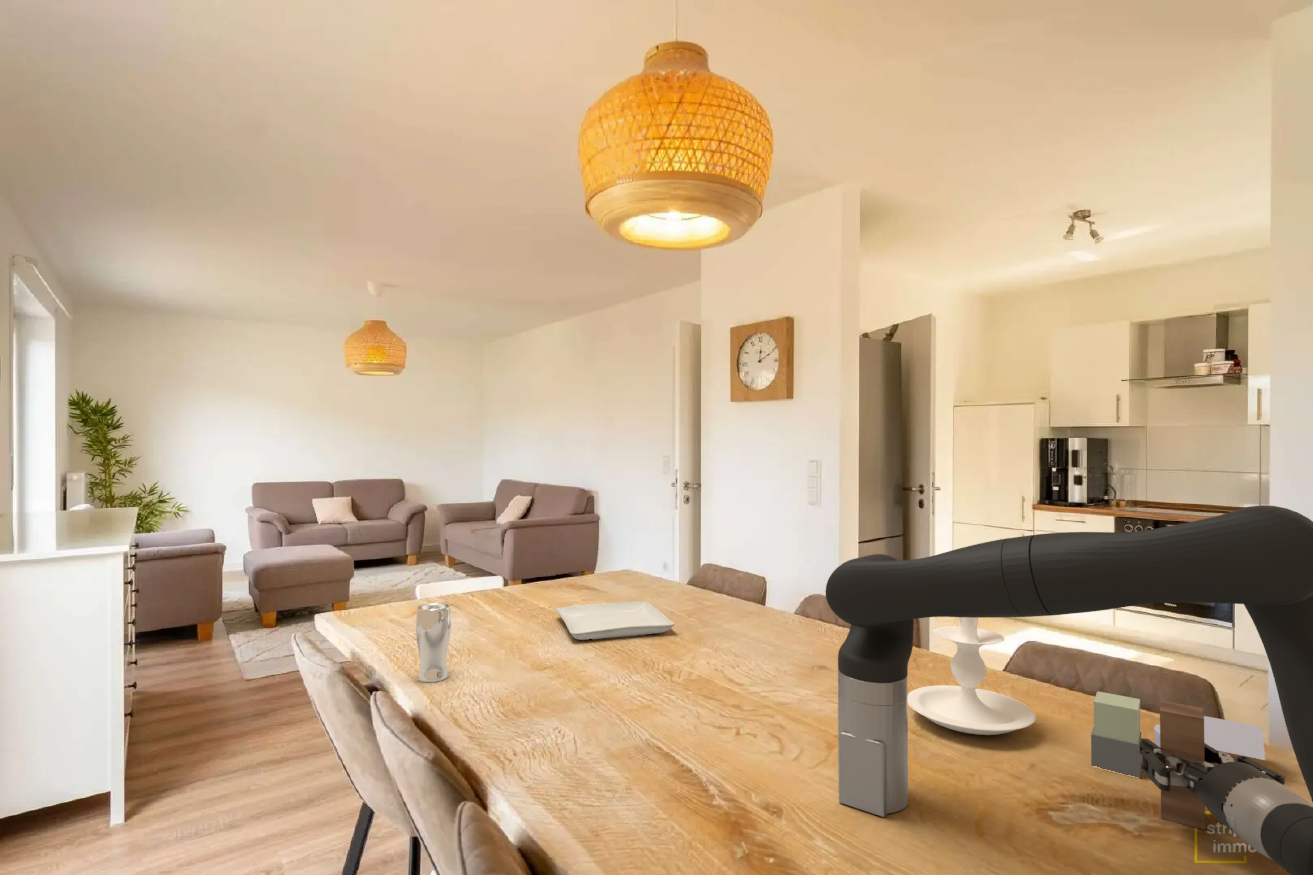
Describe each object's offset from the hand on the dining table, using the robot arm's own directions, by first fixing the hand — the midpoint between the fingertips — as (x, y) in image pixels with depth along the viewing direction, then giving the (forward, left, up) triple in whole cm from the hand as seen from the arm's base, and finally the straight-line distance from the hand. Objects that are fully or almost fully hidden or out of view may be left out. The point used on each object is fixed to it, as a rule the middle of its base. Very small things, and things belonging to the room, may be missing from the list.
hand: (1170, 747), depth 91 cm
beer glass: (-31, +124, -8) cm, 128 cm away
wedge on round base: (+21, -4, -8) cm, 23 cm away
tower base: (+10, +7, -8) cm, 15 cm away
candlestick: (+15, +29, -8) cm, 34 cm away
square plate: (+23, +121, -9) cm, 123 cm away
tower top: (+10, +7, -3) cm, 12 cm away
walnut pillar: (-2, -1, -8) cm, 8 cm away
